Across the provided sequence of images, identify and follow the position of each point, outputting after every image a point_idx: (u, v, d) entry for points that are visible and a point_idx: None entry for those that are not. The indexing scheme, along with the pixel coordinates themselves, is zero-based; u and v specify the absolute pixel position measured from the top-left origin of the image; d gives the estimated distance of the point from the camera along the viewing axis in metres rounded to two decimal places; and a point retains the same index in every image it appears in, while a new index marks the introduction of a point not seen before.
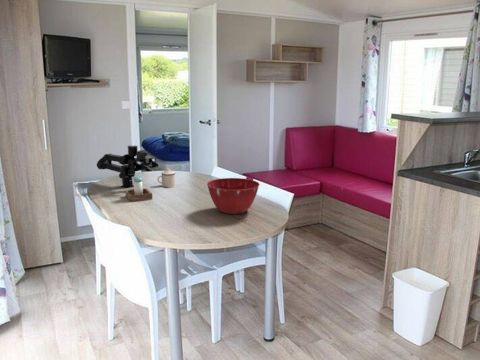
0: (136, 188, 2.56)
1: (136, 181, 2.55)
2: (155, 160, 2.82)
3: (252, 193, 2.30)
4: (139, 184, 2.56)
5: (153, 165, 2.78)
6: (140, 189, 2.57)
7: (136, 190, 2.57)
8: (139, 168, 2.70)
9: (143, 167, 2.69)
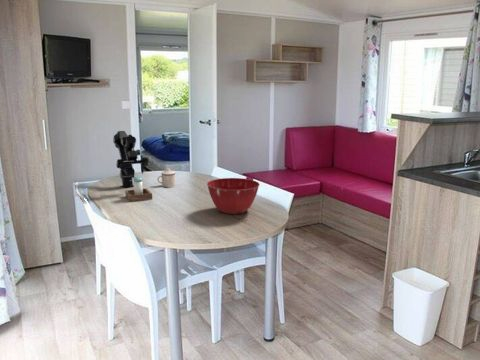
0: (136, 188, 2.56)
1: (136, 181, 2.55)
2: (147, 161, 2.70)
3: (252, 193, 2.30)
4: (139, 184, 2.56)
5: (141, 167, 2.69)
6: (140, 189, 2.57)
7: (136, 190, 2.57)
8: (123, 168, 2.65)
9: (125, 171, 2.63)
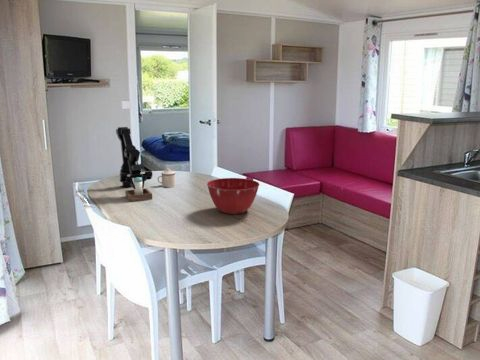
0: (136, 188, 2.56)
1: (136, 181, 2.55)
2: (151, 175, 2.63)
3: (252, 193, 2.30)
4: (139, 184, 2.56)
5: None
6: (140, 189, 2.57)
7: (136, 190, 2.57)
8: (129, 182, 2.59)
9: (132, 185, 2.57)
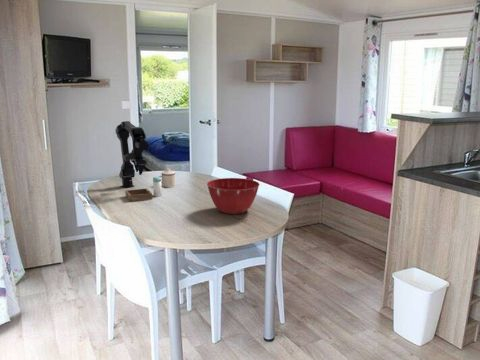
0: (155, 188, 2.62)
1: (155, 181, 2.60)
2: (139, 164, 2.59)
3: (252, 193, 2.30)
4: (158, 184, 2.61)
5: None
6: (159, 189, 2.62)
7: (155, 190, 2.62)
8: None
9: None
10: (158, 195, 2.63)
